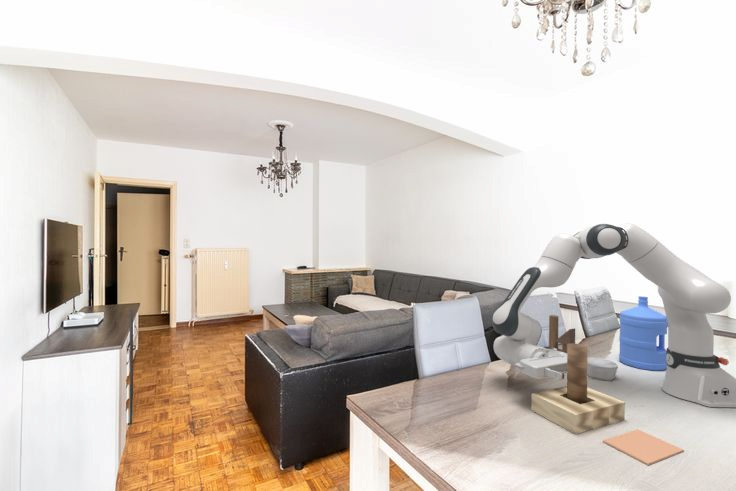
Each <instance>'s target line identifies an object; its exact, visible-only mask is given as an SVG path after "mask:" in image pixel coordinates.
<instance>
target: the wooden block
mask: <svg viewBox="0 0 736 491" xmlns="http://www.w3.org/2000/svg"><path fill="white" fill-rule="evenodd" d="M548 317H549V319H548V321H549V322H548V347H552V348H556V349H557V351H560V352H564V353H567V344H570V343H575V344H576V328H570V329H568V330H567V331H565V332H564V333H563V334H562V335H561V336H559V315H555V314H550V315H549V316H548ZM559 344H561V347H562V348H559Z"/></svg>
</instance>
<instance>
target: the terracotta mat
mask: <svg viewBox="0 0 736 491" xmlns="http://www.w3.org/2000/svg"><path fill="white" fill-rule="evenodd" d="M602 443H604V444H606V445H607V446H610V447H611V448H614V449H616V450H618V451H619V452H621V453H623V454H625V455H627V456H628V457H629V456H630V458H633V459H634V460H637V461H639V462H640V463H642V464H644V465H646V466H650V465H653V464H656V463H658V462H661V461H663V460H666V459H668V458H671V457H673V456H676V455H679V454H681V453H684V451H685V450H684V449H682V448H680V447H679V446H675V445H674V444H671V443H669V442H667V441H665V440H663V439H661V438H658V437H656V436H654V435H651V434H649V433H647V432H645V431H642V430H640V429H638V428H637V429H634V430H631V431H628V432H624V433H621V434H619V435H615V436H612V437H609V438H606V439H604V440H602Z"/></svg>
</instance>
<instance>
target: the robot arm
mask: <svg viewBox="0 0 736 491" xmlns="http://www.w3.org/2000/svg"><path fill="white" fill-rule="evenodd" d="M614 254H617V255H619V256H621V257H622V258H623V259H624V260H625V261H626V262H627V263H628V264H629V265H630V266H631V267H633V268H634V269H635V270H636V271H637V272H638V273H639V274H640V275H642V277H644V278H645V279H647V280H648V281H650V282H651V283H653V284H654V285H655V286H657V293H658V295H659V297H660V298H661V300H662V304H663V308H664V312H665V313H664V314H665V316H666V317H667V322H668V326H667V340H668V341H667V342H668V343H667V344H668V345H667V347H666V363H667V368H666V369H665V370H666V371H665V374H664V375H665V376H664V378H663V379H664V380H663V383H662V386H661V390H662V391H663V392H665V393H666V394H668V395H671V396H672V397H673V396H674V397H676V398H679V399H680V400H681V399H682V400H685V401H688V402H692V403H693V402H694V403H697V404H700V405H703V406H704V407H710V408H736V377H734V376H733V375H732V374H730V373H729V372H727V370H725V369H723V368H722V367H721V366H720V364H721V365H723V366H728V365H729V364H730V361H729V360H728V359H727V358H725V357H719V356H717V355H715V354H714V346H715V345H714V340H715V339H714V335H715V332H714V329H713V327H712V326H711V325H710V323H709V320H708V318H707V314H708V315H709V314H718V313H721V312H723V311H725V310H726V309H728V308H729V306H730V304H731V301H732V296H731V293H730V291H729V290H728V288H726V287H725V285H722V284H721V283H719V282H716V281H715V280H714V279H712V278H710V277H709V276H707V275H705V273H703V272H701V271H700V270H698V269H697V268H695V267H694V266H692V265H690V264H689V263H687V262H685V261H684V260H683V259H681V258H680V257H678V256H677V255H676V254H675V253H674V252H672V251H671V250H669V249H668V247H666V246H665V245H664V244H663V243H662V242H660V241H659V240H658V239H656V237H655V236H653V235H652V234H650V233H649V232H647V231H646V230H645V229H643V228H641V227H640V226H638V225H635V224H633V223H629V222H628V223H623V224H620V225H619V226H616V225H613V224H609V223H599V224H596V225H593V226H589V227H586V228H584V229H583V230H581V231H578V232H577V233H575V234H574V235H571V234H568V233H558V234H556V235H555V236H553V237H552V238H551V240H550V241H549V243H547V245H546V247H545V249H544V250H543V251H542V254H541V255H540V257H539V259H538V260H537V262H536V264H534V266H531V267H529V268H527V269H526V270H525V271H524V272H523V273H522V275H521V276H520V277H519V279H518V280H517V281H516V283H515V284H514V286H513V287H512V289H511V290H510V292H509V293H508V295H507V296H506V297H505V299H504V300H503V302H501V304H500V305H499V306H498V307H497V308H496V309H495V310H494V311H493V313H492V315H491V325H492V328H493V329H494V331H495V333H497V334H499V335H500V336H498V337H496V338H495V340H494V341H493V351H494V354H495V355H496V356H497V358H498V359H499V360H501V361H503V362H504V363H507V364H508V365H509V364H510V365H511V366H514V367H515V368H516V369H519V371H520V372H521V373H523V375H526V376H528V377H530V378H532V379H537V380H539V379H543V378H544V379H545V378H554V379H557V380H560V381H561V380H564V379H565V374H567V353H564V352H560V351H557V349H556V348H552V347H549V346H547V347H546V346H539V345H538V344H539V341H540V339H541V337H542V332H543V331H542V326H541V324H540V322H539V321H538V320H537V319H535V318H533V317H531V316H529V315H526V314H525V313H523V312H521V310H522V309H523V306H524V305H525V303H526V302H527V301H528V299H529V297H530V296H531V295H532V293H533V292H534V291H535V290H536V289H537V290H538V289H539V288H557V287H561V286H563V285H565V284H566V282H568V281H569V279H570V277H571V275H572V273H573V270H574V269H575V267H576V265H577V262H578V261H579V259H585V260H590V259H600V258H604V257H606V256H610V255H614Z"/></svg>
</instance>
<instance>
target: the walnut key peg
mask: <svg viewBox="0 0 736 491" xmlns="http://www.w3.org/2000/svg"><path fill="white" fill-rule="evenodd" d="M588 351H589V350H588V346H587V345H585V344H581V343H576V342H575V343H570V344H567V373H566V386H567V399H569V400H572V401H574V402H576V403H578V404H583V403H587V387H588V375H587V357H588Z"/></svg>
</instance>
